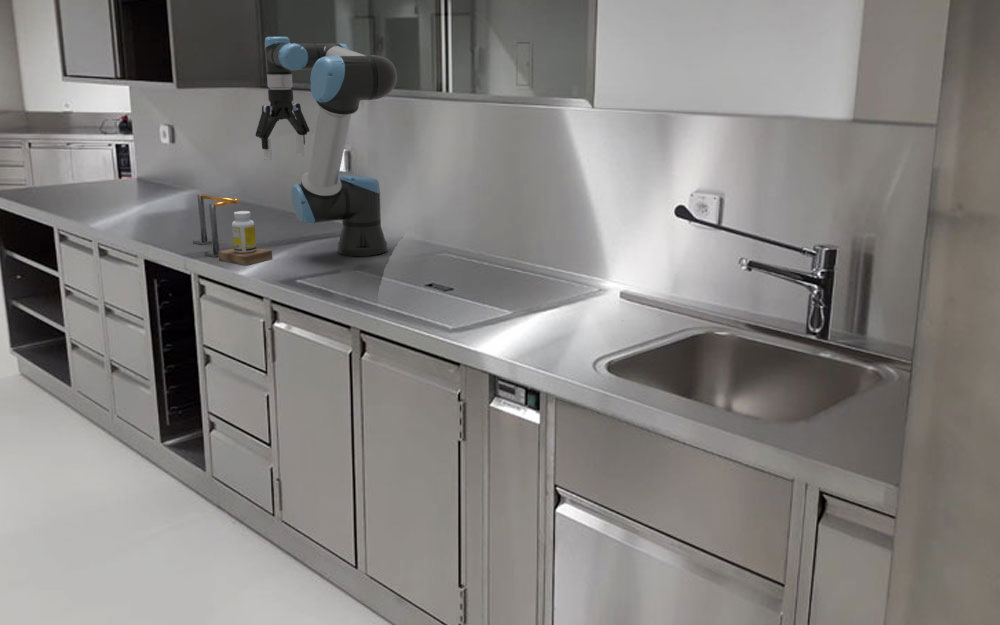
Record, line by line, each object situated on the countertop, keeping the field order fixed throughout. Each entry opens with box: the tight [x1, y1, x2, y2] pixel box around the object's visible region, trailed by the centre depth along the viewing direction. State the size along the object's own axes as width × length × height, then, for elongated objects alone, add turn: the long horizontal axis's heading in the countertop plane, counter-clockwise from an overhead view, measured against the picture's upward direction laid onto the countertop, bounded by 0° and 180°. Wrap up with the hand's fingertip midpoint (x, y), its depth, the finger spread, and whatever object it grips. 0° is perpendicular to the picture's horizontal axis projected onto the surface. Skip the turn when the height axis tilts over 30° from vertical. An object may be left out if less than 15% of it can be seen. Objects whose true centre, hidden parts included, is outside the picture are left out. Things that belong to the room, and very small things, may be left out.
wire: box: [192, 193, 240, 258], centre depth 286 cm, size 22×14×16 cm, turn 55°
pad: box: [218, 247, 273, 266], centre depth 274 cm, size 12×10×2 cm
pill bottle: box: [231, 210, 257, 253], centre depth 272 cm, size 6×6×12 cm
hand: (284, 157), depth 292 cm, fingers open, 13 cm apart
